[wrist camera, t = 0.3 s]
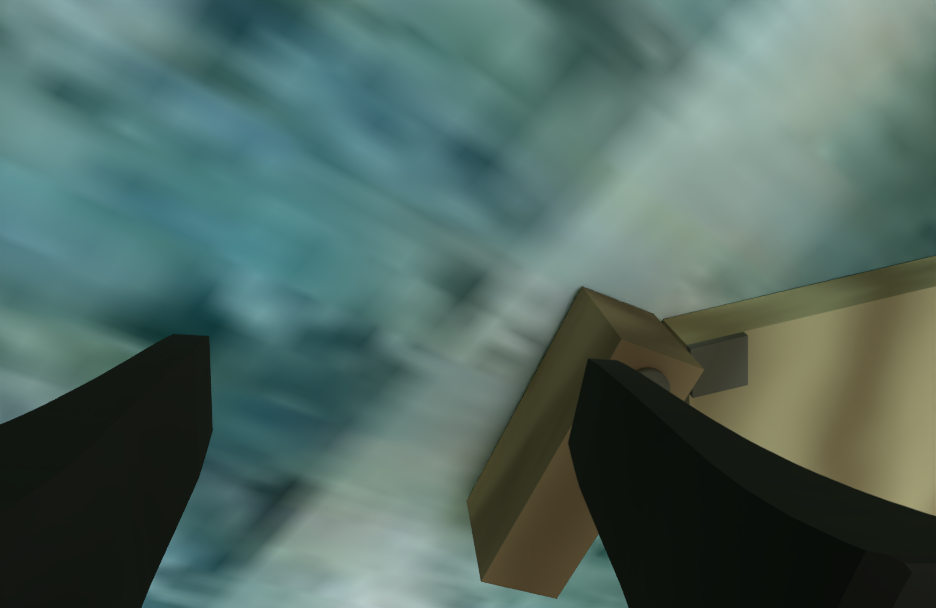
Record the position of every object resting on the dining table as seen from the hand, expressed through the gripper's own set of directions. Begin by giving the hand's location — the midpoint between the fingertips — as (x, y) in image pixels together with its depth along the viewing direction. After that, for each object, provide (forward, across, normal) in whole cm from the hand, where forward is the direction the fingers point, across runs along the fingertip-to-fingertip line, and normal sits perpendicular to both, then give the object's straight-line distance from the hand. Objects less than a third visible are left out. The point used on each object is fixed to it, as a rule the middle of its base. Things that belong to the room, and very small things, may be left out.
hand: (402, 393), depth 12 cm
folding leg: (+9, -7, +6) cm, 13 cm away
